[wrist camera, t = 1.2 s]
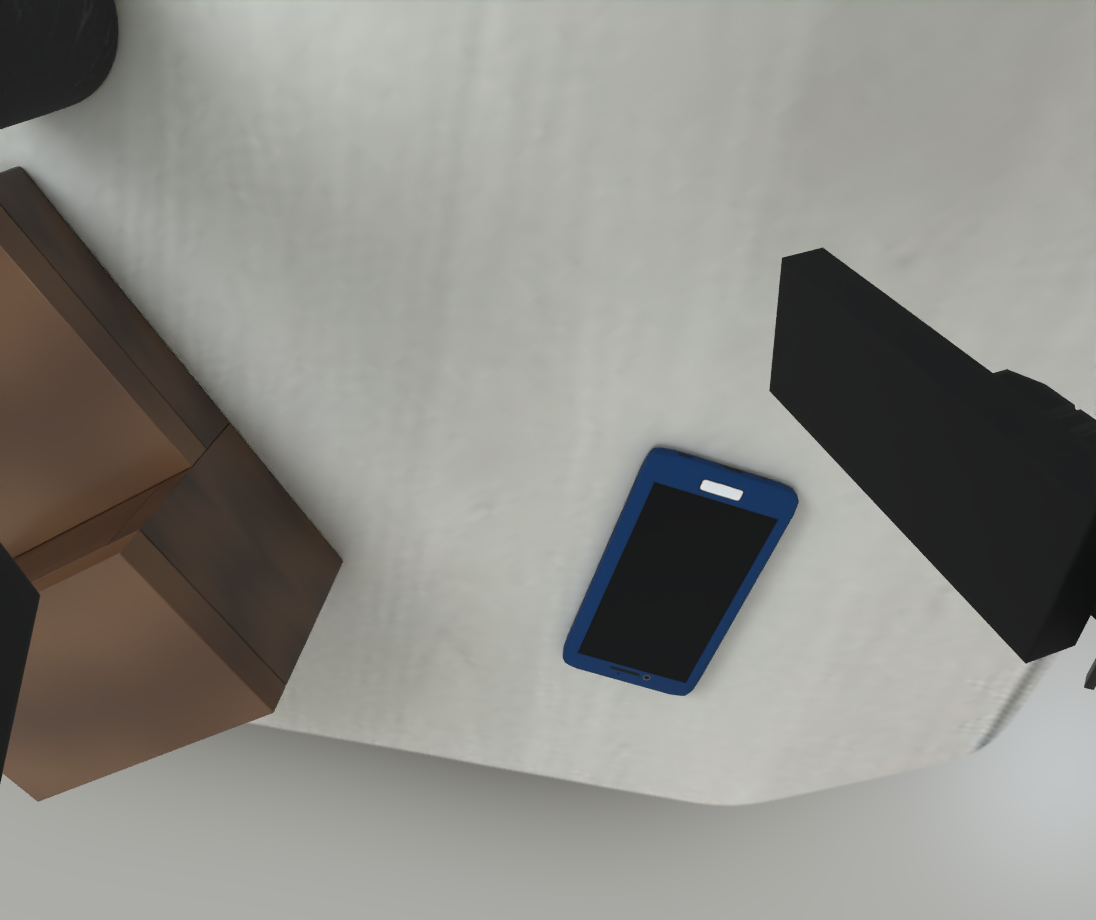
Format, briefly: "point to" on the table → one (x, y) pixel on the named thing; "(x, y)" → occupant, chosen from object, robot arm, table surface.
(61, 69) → the travel mug
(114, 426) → the walnut shelf
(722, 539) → the cell phone
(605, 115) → the table surface
